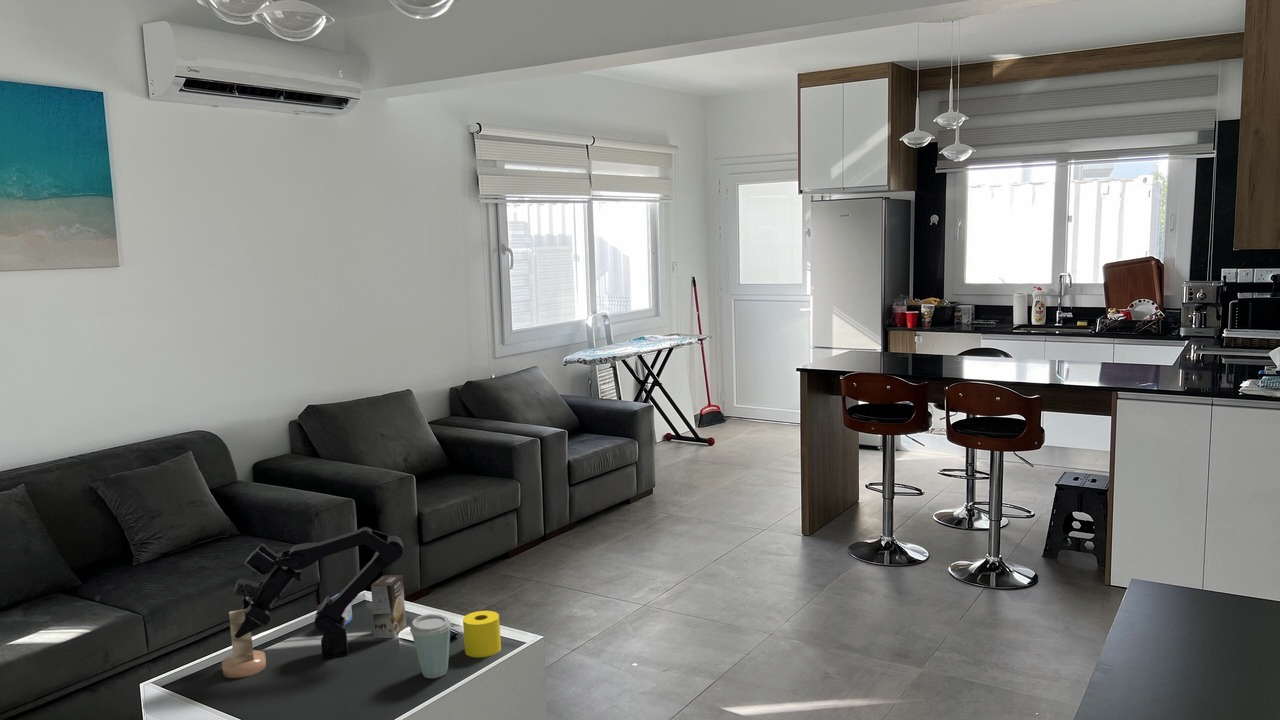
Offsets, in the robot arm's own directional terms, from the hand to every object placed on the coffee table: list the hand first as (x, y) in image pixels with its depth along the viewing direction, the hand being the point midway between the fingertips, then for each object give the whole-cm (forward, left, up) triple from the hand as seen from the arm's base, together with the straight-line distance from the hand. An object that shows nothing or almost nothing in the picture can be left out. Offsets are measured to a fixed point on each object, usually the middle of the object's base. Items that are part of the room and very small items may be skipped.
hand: (235, 631), depth 258 cm
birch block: (-1, 0, -8) cm, 8 cm away
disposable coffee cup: (-51, +22, -11) cm, 57 cm away
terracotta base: (-1, 0, -11) cm, 11 cm away
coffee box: (-40, -12, -11) cm, 44 cm away
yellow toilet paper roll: (-65, +11, -11) cm, 67 cm away
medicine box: (-25, -24, -11) cm, 37 cm away
